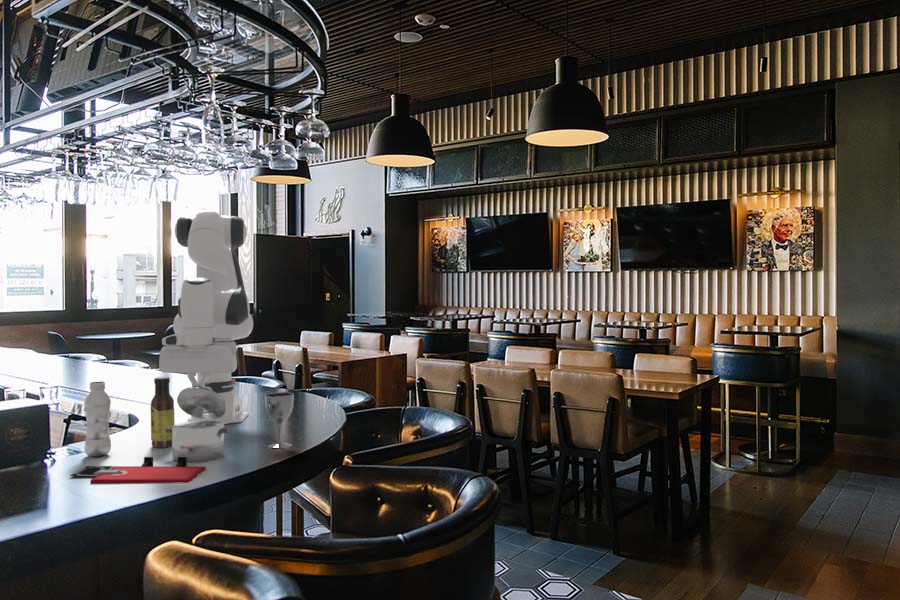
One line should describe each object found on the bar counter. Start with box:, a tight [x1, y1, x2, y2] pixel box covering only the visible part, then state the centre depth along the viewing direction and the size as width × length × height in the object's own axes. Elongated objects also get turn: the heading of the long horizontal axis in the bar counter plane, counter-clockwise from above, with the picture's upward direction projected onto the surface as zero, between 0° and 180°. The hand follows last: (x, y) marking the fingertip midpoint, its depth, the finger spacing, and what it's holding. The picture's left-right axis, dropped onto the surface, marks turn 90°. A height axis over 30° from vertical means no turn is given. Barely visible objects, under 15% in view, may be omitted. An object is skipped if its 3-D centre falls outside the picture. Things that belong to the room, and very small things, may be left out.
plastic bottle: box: [83, 381, 112, 457], centre depth 178 cm, size 6×7×20 cm
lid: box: [176, 386, 227, 420], centre depth 179 cm, size 13×13×3 cm
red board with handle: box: [69, 456, 206, 485], centre depth 159 cm, size 30×3×15 cm
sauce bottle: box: [150, 376, 176, 449], centre depth 189 cm, size 6×6×20 cm
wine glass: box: [264, 391, 295, 449], centre depth 188 cm, size 8×8×15 cm
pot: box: [166, 421, 232, 464], centre depth 177 cm, size 14×17×8 cm
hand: (198, 389), depth 176 cm, fingers closed, pressing on lid
